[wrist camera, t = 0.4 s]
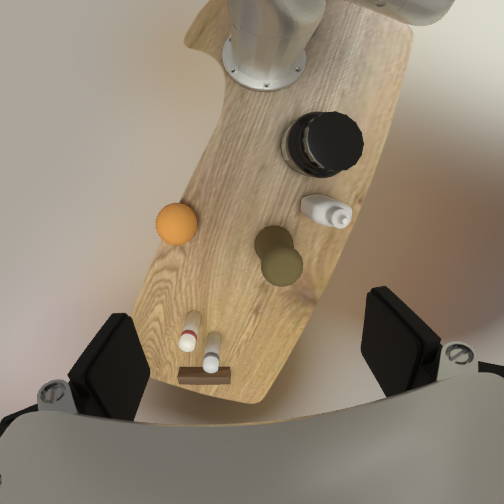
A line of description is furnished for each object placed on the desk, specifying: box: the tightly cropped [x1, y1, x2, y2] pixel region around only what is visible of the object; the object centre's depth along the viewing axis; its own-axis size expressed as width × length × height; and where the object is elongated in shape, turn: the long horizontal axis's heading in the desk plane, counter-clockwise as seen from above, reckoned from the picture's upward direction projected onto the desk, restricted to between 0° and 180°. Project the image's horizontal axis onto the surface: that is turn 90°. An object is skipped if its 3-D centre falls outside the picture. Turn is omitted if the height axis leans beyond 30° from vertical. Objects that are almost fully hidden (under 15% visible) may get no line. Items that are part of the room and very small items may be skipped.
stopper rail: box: [177, 367, 231, 385], centre depth 49 cm, size 2×10×3 cm, turn 93°
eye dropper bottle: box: [301, 194, 352, 229], centre depth 35 cm, size 4×6×12 cm
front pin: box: [179, 311, 201, 352], centre depth 42 cm, size 2×2×8 cm
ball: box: [156, 203, 197, 245], centre depth 38 cm, size 6×6×6 cm
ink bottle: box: [281, 111, 364, 178], centre depth 32 cm, size 10×9×12 cm
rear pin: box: [203, 332, 221, 373], centre depth 44 cm, size 2×2×8 cm
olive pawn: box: [255, 226, 303, 286], centre depth 37 cm, size 6×6×11 cm
